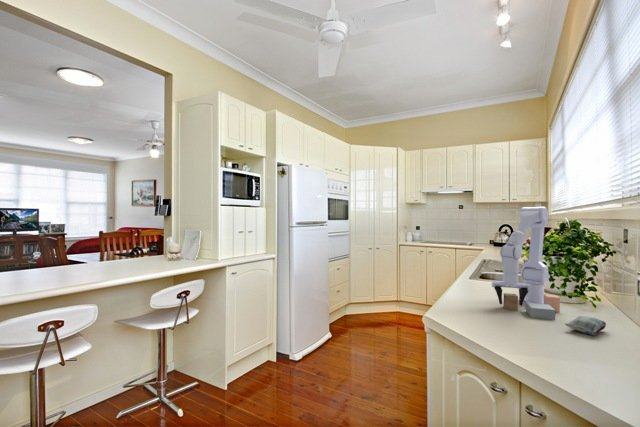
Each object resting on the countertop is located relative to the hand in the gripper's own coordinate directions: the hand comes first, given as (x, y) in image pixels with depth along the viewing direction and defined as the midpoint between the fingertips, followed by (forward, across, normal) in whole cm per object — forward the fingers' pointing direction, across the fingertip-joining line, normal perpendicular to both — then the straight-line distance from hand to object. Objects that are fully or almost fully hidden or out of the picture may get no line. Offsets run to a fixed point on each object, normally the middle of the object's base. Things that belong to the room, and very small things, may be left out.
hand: (510, 304), depth 140 cm
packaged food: (+2, +18, -22) cm, 29 cm away
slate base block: (+2, +9, -7) cm, 12 cm away
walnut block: (+2, 0, 0) cm, 2 cm away
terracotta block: (+2, +16, +3) cm, 16 cm away
